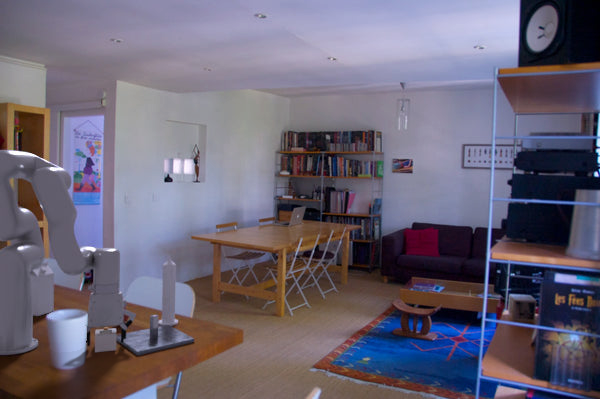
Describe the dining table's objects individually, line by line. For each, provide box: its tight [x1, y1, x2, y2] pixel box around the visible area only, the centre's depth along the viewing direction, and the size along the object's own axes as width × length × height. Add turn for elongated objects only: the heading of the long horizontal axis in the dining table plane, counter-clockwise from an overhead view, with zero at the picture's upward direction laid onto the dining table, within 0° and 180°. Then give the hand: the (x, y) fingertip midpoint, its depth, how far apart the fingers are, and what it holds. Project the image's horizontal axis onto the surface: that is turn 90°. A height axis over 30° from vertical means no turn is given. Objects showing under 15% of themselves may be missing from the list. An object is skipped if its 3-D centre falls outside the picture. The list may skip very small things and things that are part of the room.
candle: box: [158, 255, 179, 327], centre depth 171 cm, size 7×7×25 cm
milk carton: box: [30, 261, 55, 317], centre depth 179 cm, size 7×7×19 cm
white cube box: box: [94, 326, 117, 353], centre depth 146 cm, size 6×6×6 cm
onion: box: [118, 307, 130, 327], centre depth 167 cm, size 6×6×8 cm
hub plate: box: [116, 314, 195, 356], centre depth 153 cm, size 19×18×8 cm
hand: (105, 342), depth 146 cm, fingers open, 9 cm apart
